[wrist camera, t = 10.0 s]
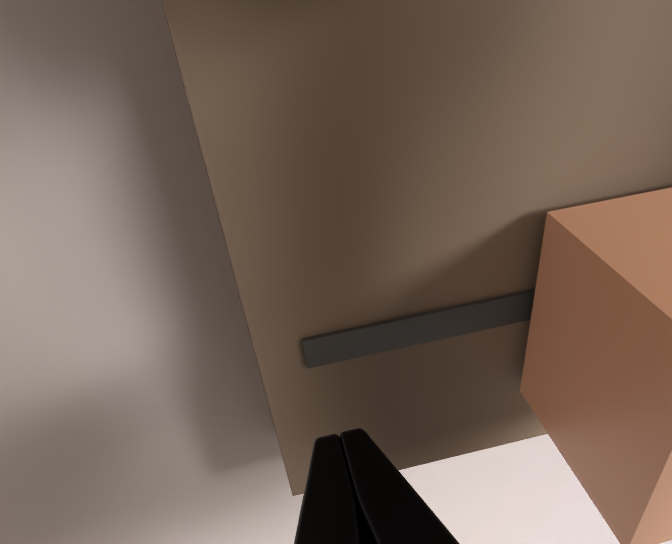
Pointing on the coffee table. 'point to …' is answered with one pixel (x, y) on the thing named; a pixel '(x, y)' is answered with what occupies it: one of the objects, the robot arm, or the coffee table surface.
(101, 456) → the coffee table surface
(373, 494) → the robot arm
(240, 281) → the fader panel
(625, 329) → the block
